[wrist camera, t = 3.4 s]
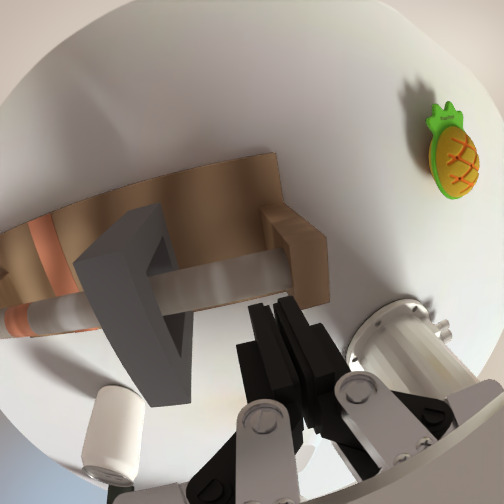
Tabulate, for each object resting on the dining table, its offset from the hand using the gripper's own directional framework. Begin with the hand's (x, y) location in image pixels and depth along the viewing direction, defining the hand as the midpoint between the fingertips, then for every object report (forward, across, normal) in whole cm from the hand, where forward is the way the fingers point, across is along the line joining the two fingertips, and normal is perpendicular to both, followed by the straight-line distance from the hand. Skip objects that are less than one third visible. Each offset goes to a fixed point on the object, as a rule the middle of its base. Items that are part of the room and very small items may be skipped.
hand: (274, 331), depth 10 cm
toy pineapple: (+14, -22, -4) cm, 26 cm away
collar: (+10, +6, +1) cm, 12 cm away
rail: (+14, +11, +1) cm, 18 cm away
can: (+14, +19, +19) cm, 30 cm away
